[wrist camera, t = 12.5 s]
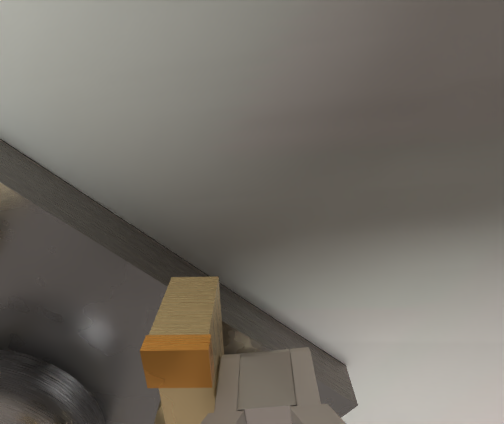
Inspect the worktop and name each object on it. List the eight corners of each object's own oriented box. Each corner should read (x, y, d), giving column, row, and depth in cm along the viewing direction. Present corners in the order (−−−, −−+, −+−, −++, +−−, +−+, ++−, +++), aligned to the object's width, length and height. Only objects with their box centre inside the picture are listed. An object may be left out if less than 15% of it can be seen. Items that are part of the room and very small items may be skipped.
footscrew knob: (281, 445, 15) (291, 602, 10) (168, 446, 15) (133, 601, 10) (285, 233, 11) (307, 349, 6) (128, 236, 11) (42, 351, 6)
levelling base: (-154, 38, 10) (-553, 10, 5) (345, 365, 16) (390, 510, 11) (-242, 353, 16) (-483, 492, 11) (154, 517, 21) (121, 662, 16)
